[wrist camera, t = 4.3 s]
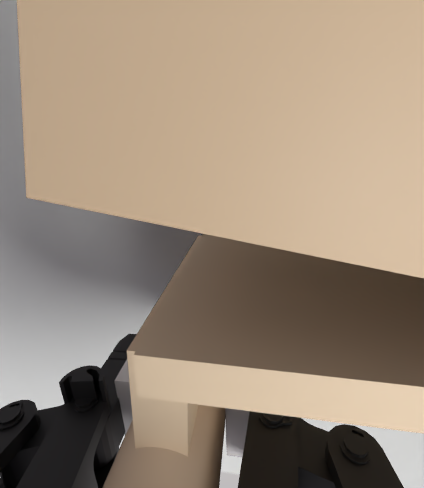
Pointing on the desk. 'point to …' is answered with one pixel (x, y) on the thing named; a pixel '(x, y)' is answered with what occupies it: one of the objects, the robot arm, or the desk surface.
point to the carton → (234, 119)
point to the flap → (266, 355)
